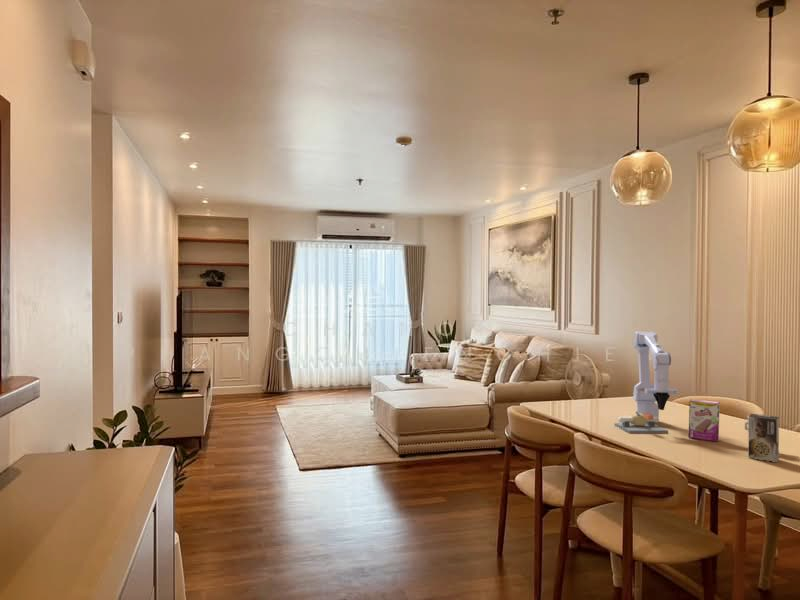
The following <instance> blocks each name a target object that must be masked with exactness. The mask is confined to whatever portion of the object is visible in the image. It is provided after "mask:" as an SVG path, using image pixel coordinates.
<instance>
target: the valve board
mask: <svg viewBox="0 0 800 600" xmlns="http://www.w3.org/2000/svg"><path fill="white" fill-rule="evenodd" d="M617 419H618V422H614V426H615V427H616V426H617V428H618V427H619V428H618V429H620V428H621V429H620V430H622V429H623V430H622V431H624V432H626V433H627V434H669V430H668V429H666V428H663V427H660V425H657V424H656V423H660V422H659V421H660V418H658V417H653V420H648V419H646V418H644V417H643V416H641V415H639V414H636V413H635V414H634V413H633V414H631V415H630V416H619V417H618V418H617Z"/></svg>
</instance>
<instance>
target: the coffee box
mask: <svg viewBox="0 0 800 600" xmlns="http://www.w3.org/2000/svg"><path fill="white" fill-rule="evenodd" d="M779 417H780V416H774V415H767V414H765V415H764V414H759V413H758V414H757V413H749V415H748V416H747V422H748V424H747V427H748V430H747V432H748V431H749V432H748V441H747V442H748V446H747V447H748V450H747V451H748V453H747V454H748V457H749V458H748V457H747V458H748V459H751V458H754V459H753V460H757V459H759V460H758V461H763V460H766V461H765V462H769V461H772V462H771V463H775V462H777V461H778V462H779V460H780V455H779V454H780V453H779V452H780V450H779V447H780V445H779V442H780V441H779V439H780V437H779V435H780V433H779V431H780V428H779V426H780V425H779V423H780V422H779V421H780V418H779ZM778 462H777V463H778Z"/></svg>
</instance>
